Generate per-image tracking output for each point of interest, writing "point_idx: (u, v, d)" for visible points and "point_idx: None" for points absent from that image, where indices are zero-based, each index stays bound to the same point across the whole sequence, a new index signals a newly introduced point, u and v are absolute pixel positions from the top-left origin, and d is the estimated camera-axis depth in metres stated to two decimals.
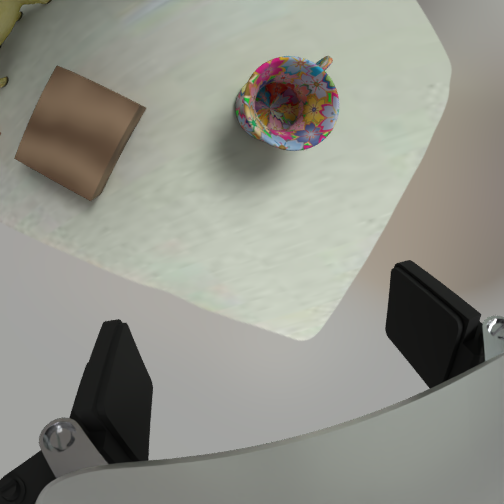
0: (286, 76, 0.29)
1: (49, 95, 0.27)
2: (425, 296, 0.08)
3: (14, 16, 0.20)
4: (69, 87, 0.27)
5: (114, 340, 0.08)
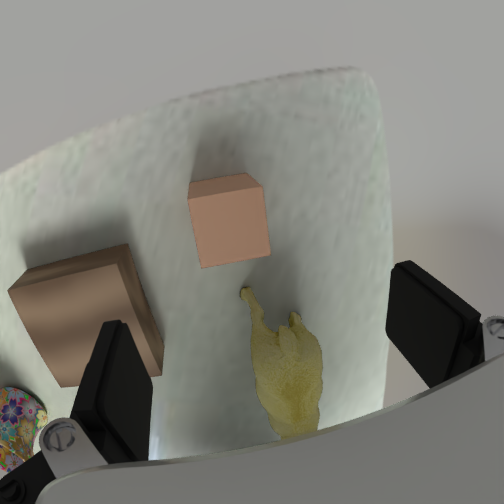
0: None
1: (138, 350, 0.27)
2: (425, 296, 0.08)
3: None
4: None
5: (114, 340, 0.08)
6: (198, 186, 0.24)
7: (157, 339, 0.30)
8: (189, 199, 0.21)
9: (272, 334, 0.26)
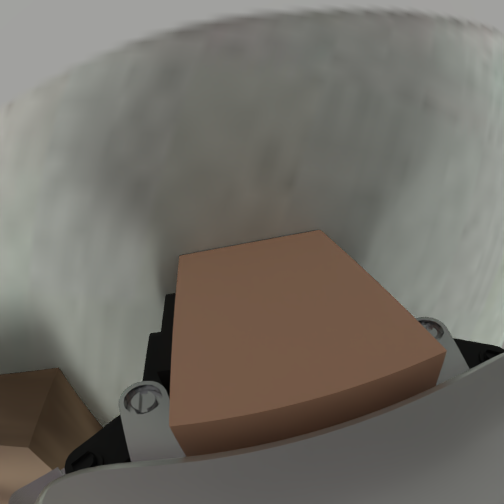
0: None
1: None
2: None
3: None
4: None
5: None
6: (203, 291, 0.08)
7: None
8: (177, 424, 0.04)
9: None
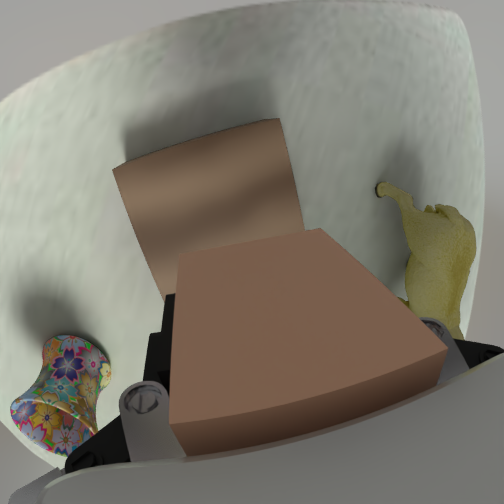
0: None
1: None
2: None
3: (409, 299, 0.26)
4: None
5: None
6: (203, 289, 0.08)
7: None
8: (177, 422, 0.04)
9: (430, 213, 0.23)
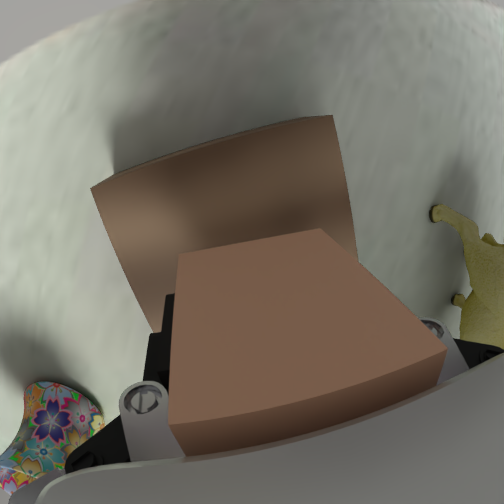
0: None
1: None
2: None
3: None
4: None
5: None
6: (203, 289, 0.08)
7: None
8: (176, 422, 0.04)
9: (499, 247, 0.17)
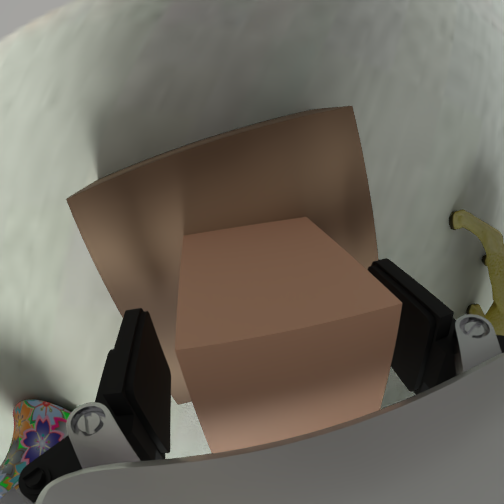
0: None
1: None
2: (399, 294, 0.09)
3: None
4: None
5: (138, 327, 0.09)
6: (204, 260, 0.10)
7: None
8: (181, 349, 0.06)
9: None
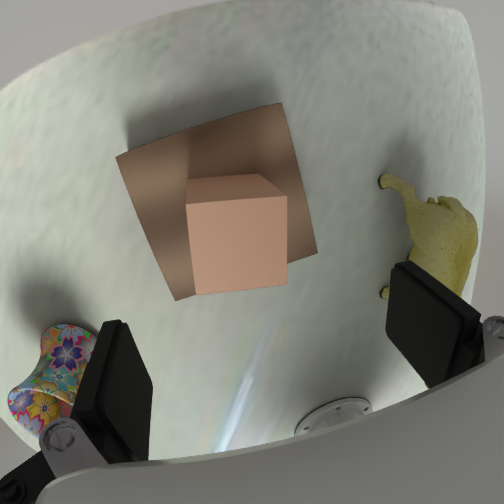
0: None
1: (295, 218, 0.24)
2: (425, 296, 0.08)
3: None
4: None
5: (114, 340, 0.08)
6: (199, 186, 0.19)
7: None
8: (188, 204, 0.15)
9: (433, 204, 0.23)
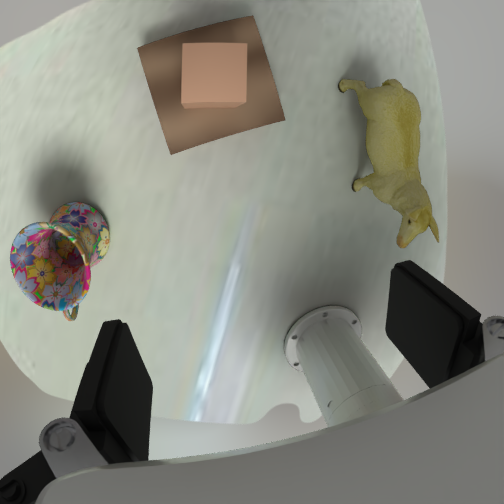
0: (78, 276, 0.30)
1: (265, 91, 0.29)
2: (425, 296, 0.08)
3: (371, 158, 0.31)
4: (251, 112, 0.30)
5: (114, 340, 0.08)
6: None
7: None
8: (184, 43, 0.20)
9: None
